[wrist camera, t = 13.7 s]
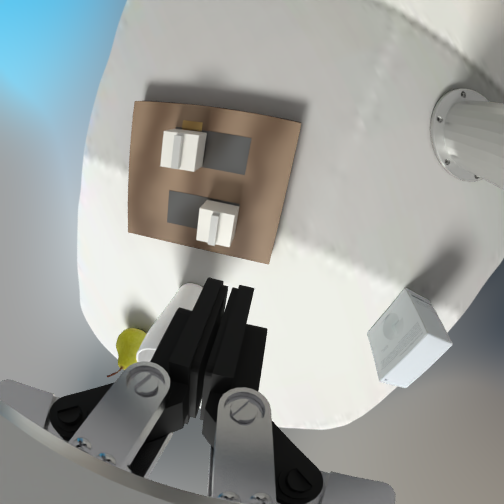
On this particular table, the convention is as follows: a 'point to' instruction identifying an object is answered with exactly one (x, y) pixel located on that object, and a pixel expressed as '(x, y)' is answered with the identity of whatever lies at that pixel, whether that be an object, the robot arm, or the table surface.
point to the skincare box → (407, 339)
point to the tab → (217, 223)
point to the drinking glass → (167, 319)
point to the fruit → (128, 347)
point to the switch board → (211, 175)
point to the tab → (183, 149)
